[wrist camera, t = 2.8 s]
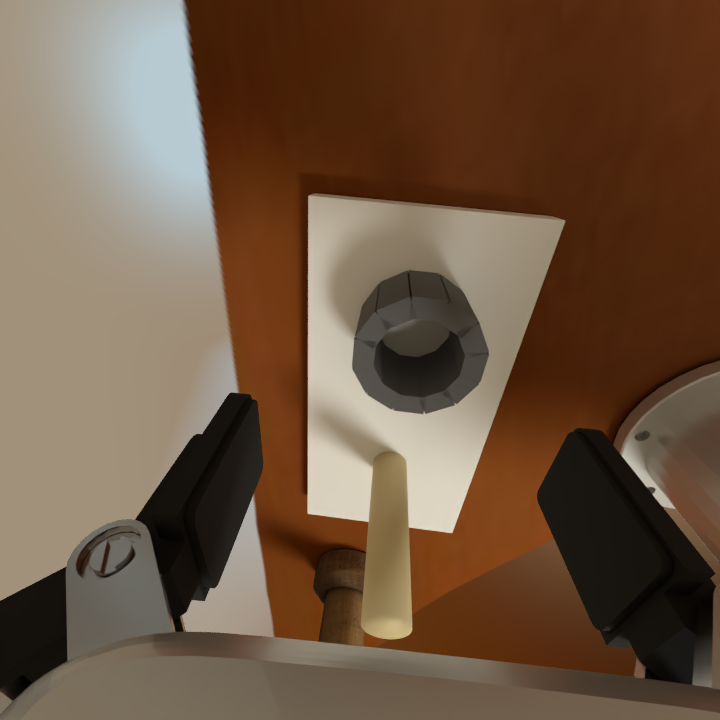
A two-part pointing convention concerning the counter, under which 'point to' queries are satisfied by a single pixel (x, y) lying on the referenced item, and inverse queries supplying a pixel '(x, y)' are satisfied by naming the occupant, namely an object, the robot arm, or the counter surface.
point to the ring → (427, 372)
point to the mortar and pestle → (341, 596)
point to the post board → (414, 338)
